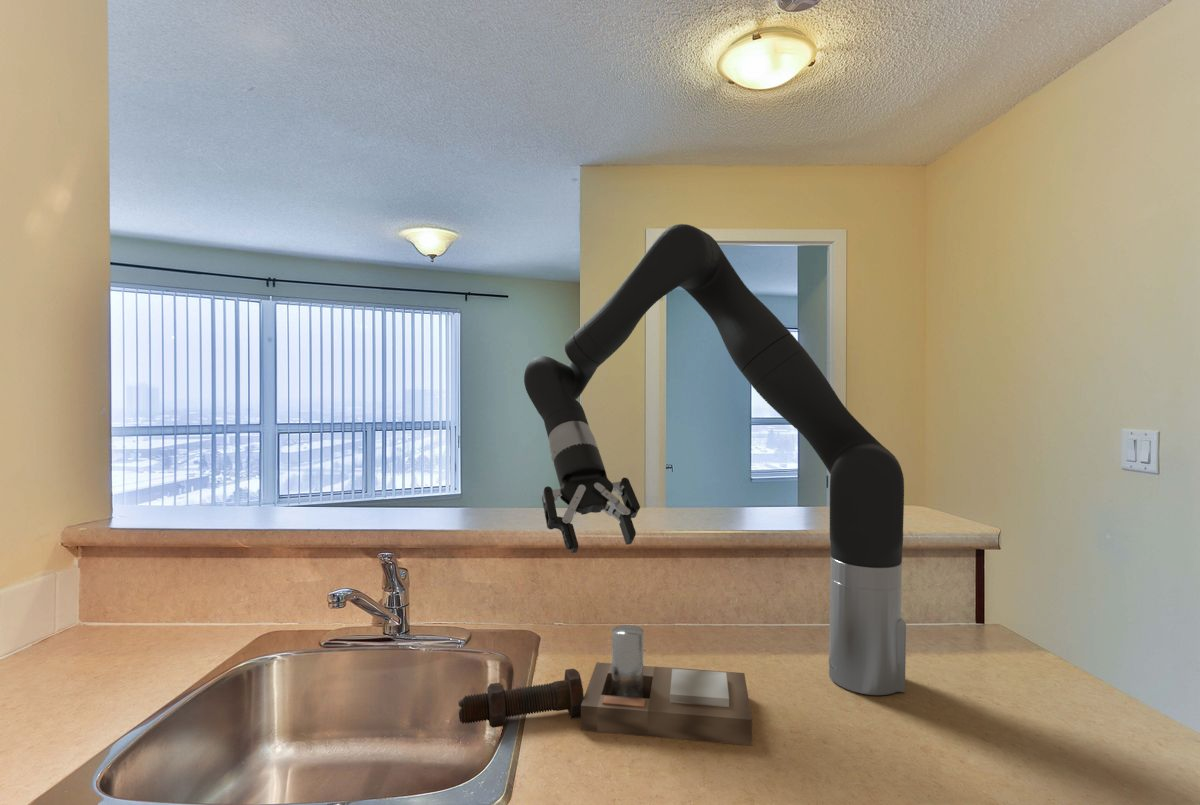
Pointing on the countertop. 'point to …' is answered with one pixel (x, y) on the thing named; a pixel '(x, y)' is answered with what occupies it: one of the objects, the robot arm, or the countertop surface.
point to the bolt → (523, 701)
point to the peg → (627, 661)
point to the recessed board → (672, 705)
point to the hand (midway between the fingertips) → (603, 546)
